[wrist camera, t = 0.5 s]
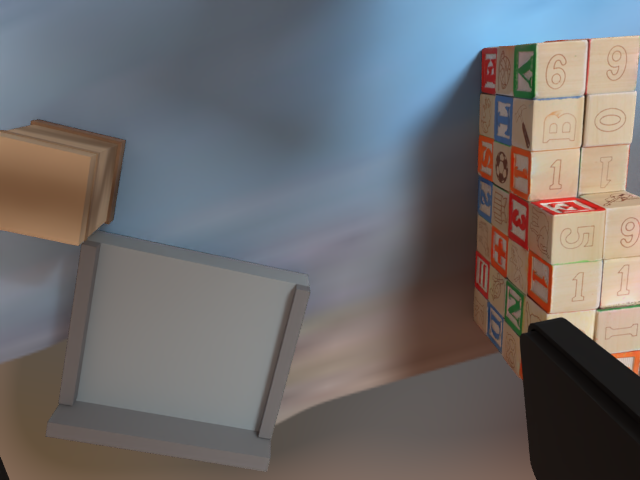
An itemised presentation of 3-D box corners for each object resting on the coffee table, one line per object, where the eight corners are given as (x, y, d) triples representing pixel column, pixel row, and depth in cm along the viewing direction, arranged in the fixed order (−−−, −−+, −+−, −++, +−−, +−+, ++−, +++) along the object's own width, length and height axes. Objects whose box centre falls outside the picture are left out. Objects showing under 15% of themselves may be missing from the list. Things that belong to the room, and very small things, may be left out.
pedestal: (38, 119, 39) (-13, 129, 32) (126, 140, 40) (94, 154, 33) (28, 201, 40) (-23, 228, 33) (113, 219, 41) (81, 249, 34)
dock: (97, 230, 41) (71, 253, 36) (307, 274, 43) (312, 302, 38) (72, 393, 45) (45, 436, 40) (267, 426, 47) (266, 471, 42)
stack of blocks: (478, 46, 40) (563, 36, 28) (563, 41, 40) (683, 29, 28) (472, 321, 46) (540, 407, 34) (546, 314, 46) (639, 397, 35)
